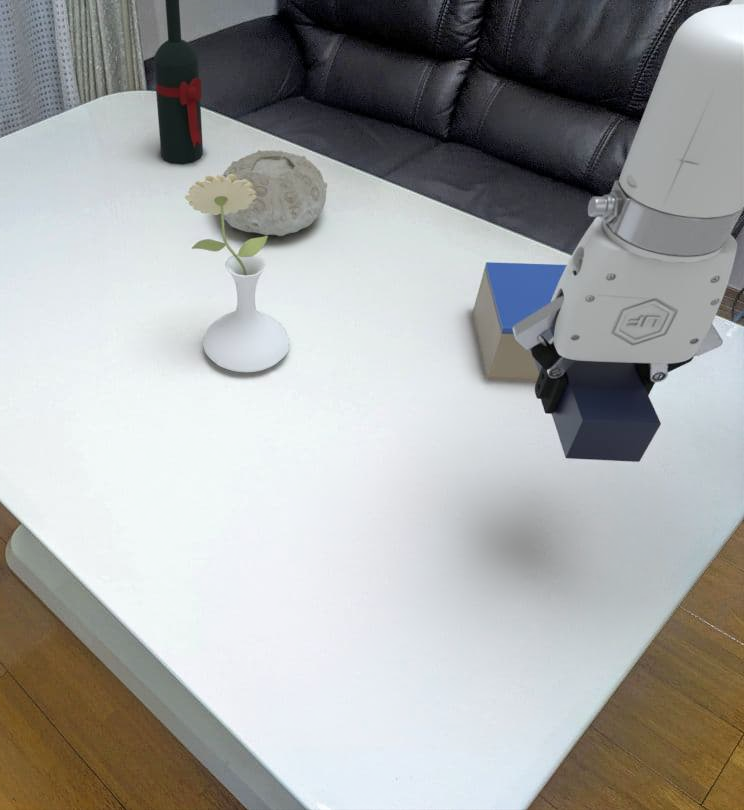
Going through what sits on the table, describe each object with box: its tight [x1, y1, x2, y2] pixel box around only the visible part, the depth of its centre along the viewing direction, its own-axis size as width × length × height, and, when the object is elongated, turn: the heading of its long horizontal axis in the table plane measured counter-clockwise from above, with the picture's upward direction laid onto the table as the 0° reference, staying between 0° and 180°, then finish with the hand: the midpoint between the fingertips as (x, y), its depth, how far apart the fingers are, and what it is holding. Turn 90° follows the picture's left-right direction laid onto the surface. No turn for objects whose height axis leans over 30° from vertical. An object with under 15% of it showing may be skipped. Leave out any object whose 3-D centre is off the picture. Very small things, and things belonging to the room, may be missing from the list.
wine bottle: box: [153, 0, 204, 165], centre depth 127 cm, size 8×10×30 cm
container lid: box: [484, 261, 567, 335], centre depth 90 cm, size 12×14×1 cm
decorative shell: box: [222, 149, 328, 237], centre depth 117 cm, size 18×18×10 cm
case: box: [535, 326, 662, 463], centre depth 61 cm, size 12×6×4 cm, turn 174°
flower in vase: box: [184, 174, 291, 373], centre depth 89 cm, size 13×11×25 cm
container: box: [471, 268, 543, 383], centre depth 93 cm, size 12×14×8 cm
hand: (585, 402), depth 62 cm, fingers closed on case, 5 cm apart
